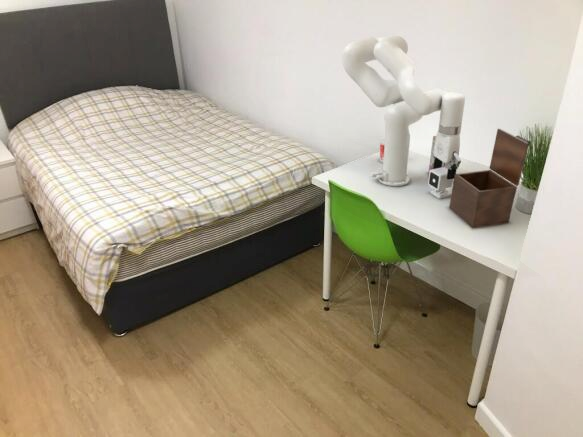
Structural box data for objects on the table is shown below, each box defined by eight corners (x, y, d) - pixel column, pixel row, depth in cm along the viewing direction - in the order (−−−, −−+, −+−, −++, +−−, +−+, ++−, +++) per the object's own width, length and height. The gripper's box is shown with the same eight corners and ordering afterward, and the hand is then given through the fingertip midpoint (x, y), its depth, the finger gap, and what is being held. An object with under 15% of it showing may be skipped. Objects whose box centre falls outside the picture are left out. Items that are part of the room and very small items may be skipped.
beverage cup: (383, 164, 204) (385, 133, 197) (375, 159, 209) (377, 129, 202) (394, 161, 206) (397, 131, 199) (387, 157, 211) (389, 127, 204)
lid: (526, 143, 144) (542, 141, 145) (497, 128, 156) (512, 127, 157) (516, 186, 151) (531, 184, 152) (489, 168, 163) (503, 166, 165)
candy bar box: (427, 173, 195) (432, 135, 187) (438, 171, 196) (443, 134, 188) (441, 184, 185) (447, 145, 177) (452, 182, 186) (458, 143, 178)
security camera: (426, 193, 178) (429, 169, 173) (441, 189, 181) (444, 166, 176) (436, 200, 173) (440, 175, 168) (451, 196, 176) (456, 172, 171)
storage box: (472, 228, 155) (479, 192, 148) (449, 208, 168) (454, 174, 161) (508, 222, 158) (517, 187, 151) (483, 203, 170) (490, 169, 164)
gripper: (428, 123, 171) (423, 166, 179) (453, 137, 156) (446, 184, 164) (446, 121, 172) (441, 164, 180) (473, 135, 157) (465, 181, 165)
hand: (443, 173), depth 172 cm, fingers open, 9 cm apart
